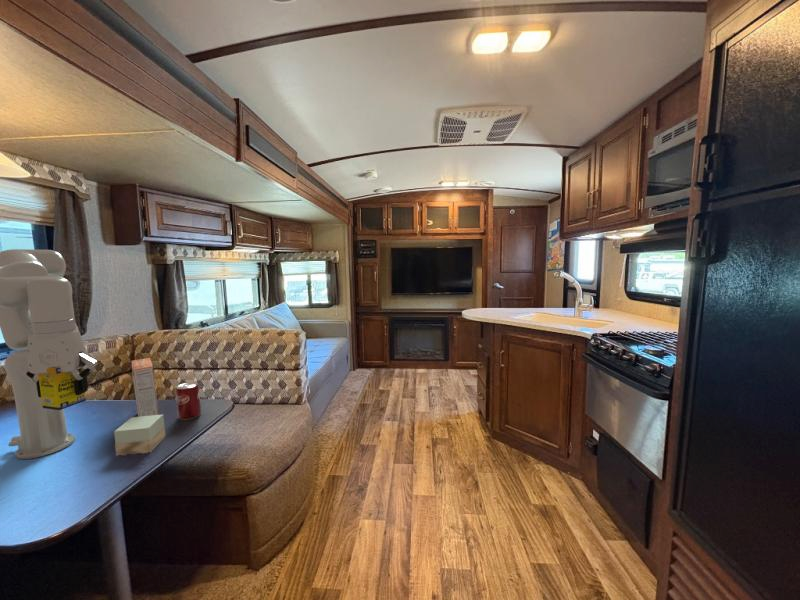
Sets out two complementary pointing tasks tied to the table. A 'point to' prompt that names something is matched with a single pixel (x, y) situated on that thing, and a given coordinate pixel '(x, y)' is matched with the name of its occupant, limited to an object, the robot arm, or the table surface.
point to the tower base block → (140, 445)
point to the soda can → (188, 400)
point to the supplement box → (58, 389)
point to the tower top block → (139, 429)
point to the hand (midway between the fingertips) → (63, 393)
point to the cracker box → (144, 387)
